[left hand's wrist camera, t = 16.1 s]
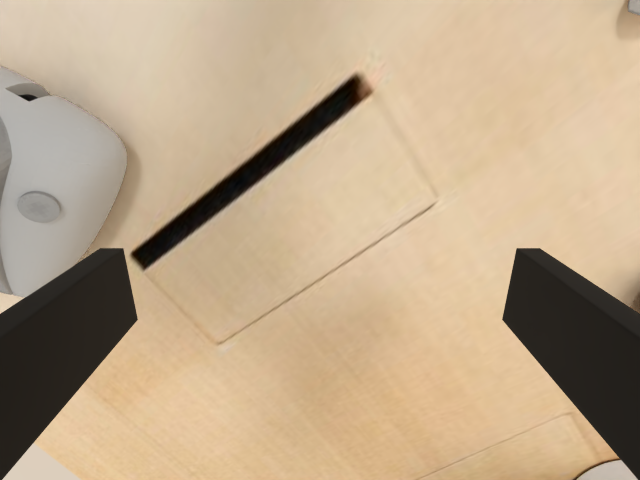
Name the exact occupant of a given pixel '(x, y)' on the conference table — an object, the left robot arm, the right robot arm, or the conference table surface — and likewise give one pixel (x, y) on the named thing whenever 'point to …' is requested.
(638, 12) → the fish
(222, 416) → the conference table surface
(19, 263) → the projector
